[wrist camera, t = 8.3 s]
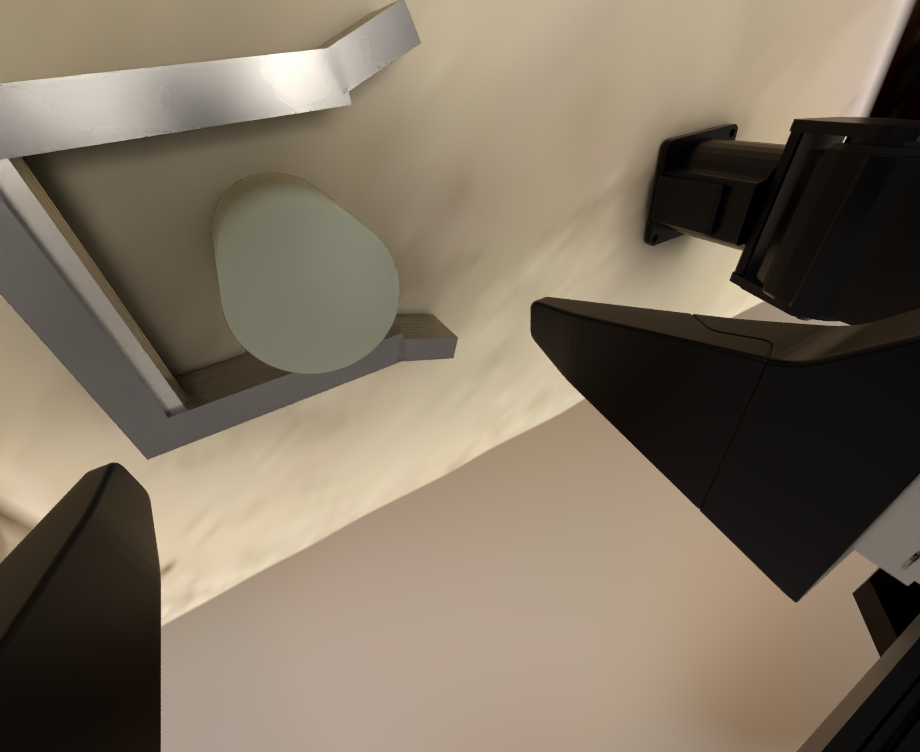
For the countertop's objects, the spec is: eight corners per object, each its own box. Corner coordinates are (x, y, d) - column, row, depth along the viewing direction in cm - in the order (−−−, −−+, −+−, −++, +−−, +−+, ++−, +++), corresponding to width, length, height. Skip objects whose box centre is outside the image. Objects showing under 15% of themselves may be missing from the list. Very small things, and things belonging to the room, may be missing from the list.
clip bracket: (383, 11, 15) (415, -3, 13) (435, 331, 24) (460, 355, 21) (-137, 52, 10) (-223, 42, 8) (164, 431, 19) (161, 475, 17)
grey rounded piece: (323, 161, 17) (380, 190, 12) (356, 278, 20) (412, 342, 15) (184, 188, 15) (181, 236, 10) (245, 312, 18) (265, 396, 13)
